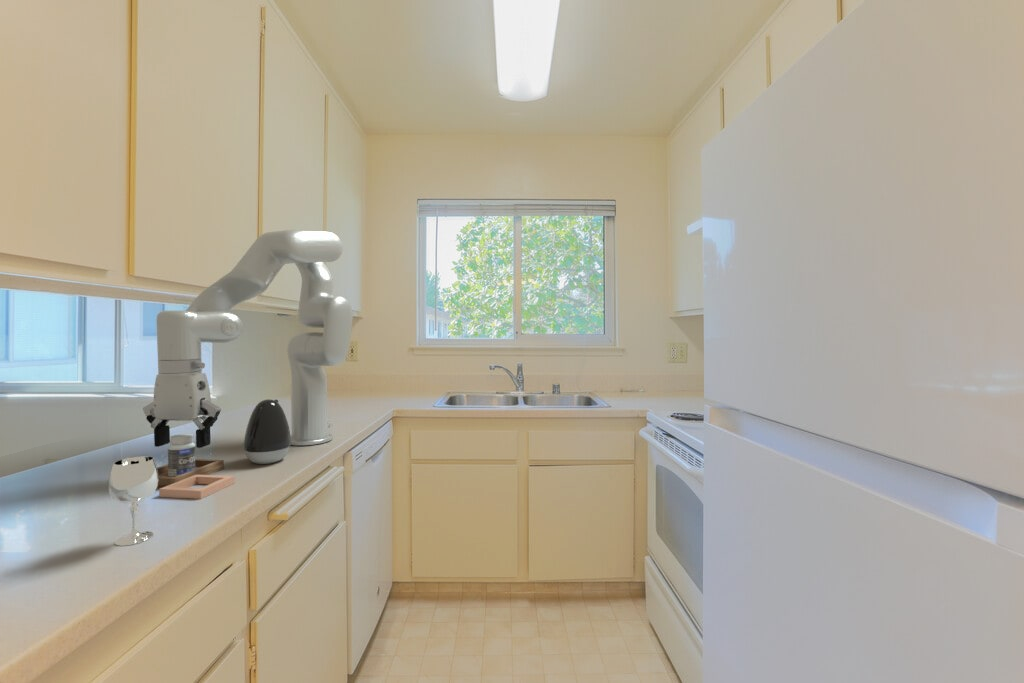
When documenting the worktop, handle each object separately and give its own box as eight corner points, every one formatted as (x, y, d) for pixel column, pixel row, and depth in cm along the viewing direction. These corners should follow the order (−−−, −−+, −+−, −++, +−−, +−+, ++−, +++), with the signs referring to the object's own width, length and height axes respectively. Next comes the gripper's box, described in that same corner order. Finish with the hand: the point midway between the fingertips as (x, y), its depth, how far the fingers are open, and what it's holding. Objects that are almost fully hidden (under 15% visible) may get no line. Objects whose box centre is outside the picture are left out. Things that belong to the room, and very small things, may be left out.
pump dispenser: (297, 454, 112) (297, 396, 112) (281, 466, 102) (281, 402, 102) (255, 455, 111) (255, 396, 111) (235, 468, 101) (235, 402, 100)
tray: (183, 467, 101) (183, 458, 101) (223, 468, 100) (223, 460, 100) (129, 486, 88) (129, 476, 88) (175, 488, 87) (175, 478, 87)
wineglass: (135, 529, 69) (135, 454, 69) (168, 531, 69) (168, 456, 69) (97, 546, 64) (97, 465, 63) (133, 549, 63) (132, 467, 63)
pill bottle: (180, 478, 92) (180, 438, 91) (162, 476, 92) (162, 437, 92) (200, 471, 96) (200, 433, 96) (183, 469, 97) (183, 432, 97)
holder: (195, 481, 91) (195, 474, 91) (234, 483, 91) (234, 476, 91) (159, 496, 83) (159, 489, 83) (200, 498, 82) (200, 490, 82)
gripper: (230, 366, 97) (232, 442, 98) (159, 365, 98) (161, 440, 99) (203, 369, 89) (206, 451, 90) (127, 369, 91) (130, 449, 92)
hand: (182, 445), depth 95 cm, fingers open, 9 cm apart
